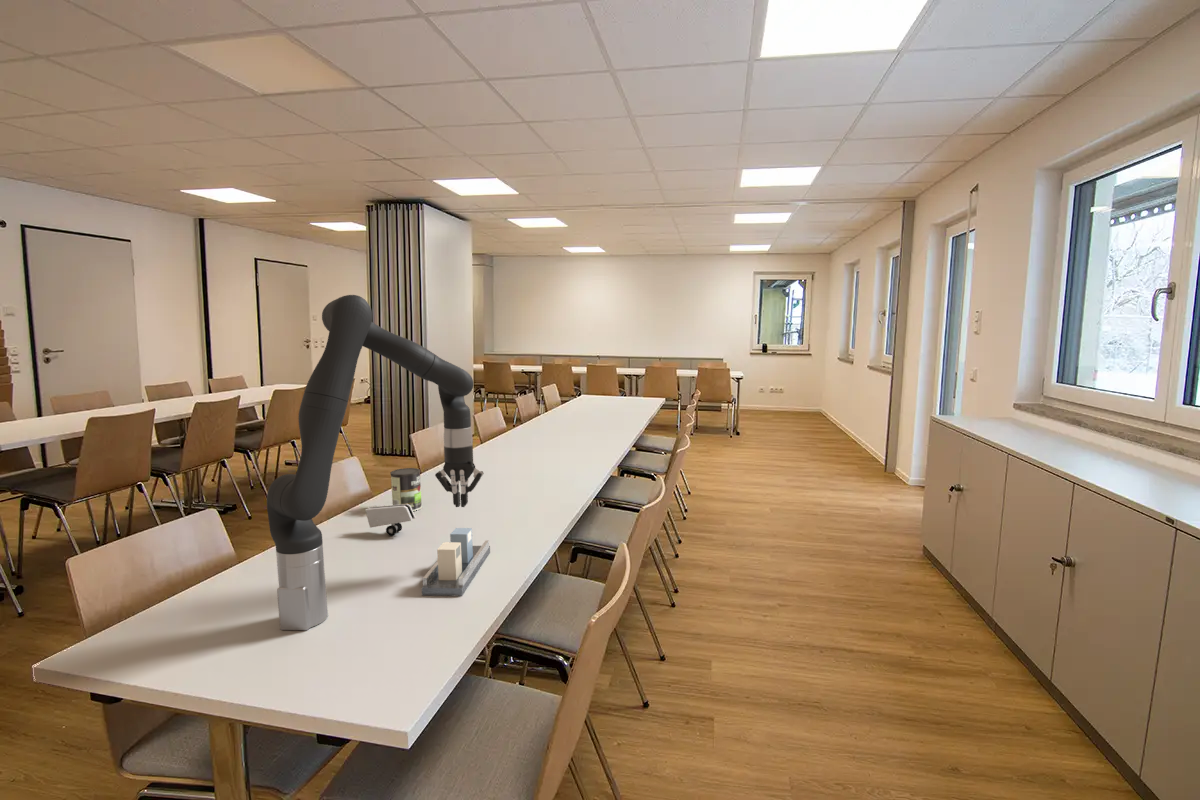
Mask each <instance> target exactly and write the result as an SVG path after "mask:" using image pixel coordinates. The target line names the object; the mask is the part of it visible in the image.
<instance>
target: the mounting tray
mask: <svg viewBox="0 0 1200 800" xmlns="http://www.w3.org/2000/svg"><path fill="white" fill-rule="evenodd" d="M490 554H491V545H490V540H487V539H486V540H484V542H483V543H482V545H473V556H472V558H471V559H470V561H469V562H468V563H462V573H461V574H460V576H459V577H458V579H457V580H439V575H438V560H437V561H436V562H435V563H434V564H433V565H432V567H431V568H429V570H428V571H427V572H426V573H425V575H424V576H423V577H422V587H421V596H428V597H430V596H434V597H436V596H437V597H463V596H464V594H465V592H466V591H467V590H468V588H469V586H470V584H471V583H472V581H473V580H474V578H476V575H477V574H478V572H479V570H480V569H481V568H482V566H483V564H484V563H485V561H486V560H487V558H488V557H489V555H490ZM480 567H481V568H480Z"/></svg>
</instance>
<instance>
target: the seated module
mask: <svg viewBox="0 0 1200 800" xmlns="http://www.w3.org/2000/svg"><path fill="white" fill-rule="evenodd" d="M436 550H437V561H438V575H439V580H457V579H458V577H459V576H460V574H461V573H462V558H461V542H451V541H450V542H449V541H447V542H446V541H444V542H442V544H440V546H439V547H438V548H437V549H436Z"/></svg>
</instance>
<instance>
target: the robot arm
mask: <svg viewBox="0 0 1200 800" xmlns="http://www.w3.org/2000/svg"><path fill="white" fill-rule="evenodd" d="M321 320H322V323H323V326H324V328H325V329H326V330H327V331H328V336H327V341H326V345H325V347H324V350H323V353H322V355H321V357H320V359H319V360H318V362H317V364H316V366H315V368H314V369H313V371H312V373H311V375H310V377H309V379H308V381H307V383H306V386H305V388H304V391H303V395H302V400H301V403H300V406H299V410H298V428H299V429H298V430H299V435H300V436H299V437H300V443H301V452H300V453H301V454H300V458H299V462H298V466H297V468H296V469H297V470H296V472H295V474H292V473H290V474H289V473H287V474H283V475H281V476H278V477H276V478H275V479H274V480H273V481H272V483H271V484H270V485H269V487H268V490H267V494H266V509H267V519H268V524H269V531H270V536H271V539H272V541H273V542H274V544H275V553H276V566H277V567H276V569H277V579H278V580H277V582H278V587H277V590H276V594H277V603H278V604H277V606H278V607H277V608H278V617H279V618H278V619H279V629H280V631H281V630H283V631H308V630H309V629H311V628H312V627H315V626H317V625H320V624H321V623H323V622H325V620H327V618H328V616H329V613H328V611H329V610H328V599H327V586H326V585H327V584H326V573H325V571H326V570H325V561H324V559H325V558H324V546H323V534H322V530H320V529H319V527H318V526H317V525H316V524H315V522H314V520H313V519H314V518H315V517H316V516H318V515H319V513H321V512H322V510H323V508H324V506H325V504H326V502H327V497H328V493H329V486H330V479H331V472H332V468H333V467H332V466H333V461H334V457H335V452H336V447H337V445H338V442H339V441H338V440H339V436H340V431H341V427H342V424H343V421H344V418H345V416H346V415H345V414H346V410H347V407H348V403H349V399H350V394H351V390H352V386H353V383H354V382H353V381H354V379H355V378H354V377H355V373H356V369H357V364H358V360H359V356H360V354H361V351H362V349H363V347H364V348H366V349H368V350H369V351H370V350H371V351H372V352H375V353H377V354H378V355H381V356H382V357H384V358H386V359H388V360H390V361H391V362H393V363H395V364H397V365H398V366H400V367H402V368H403V369H405V370H407V371H408V372H410V373H412V374H414V375H415V376H417V377H419V378H421V379H422V380H425V381H428V382H431V383H434V384H436V386H437V389H438V394H439V398H440V403H441V407H442V411H443V427H444V428H443V453H444V454H443V455H444V465H443V467H442V469H441V470H439V471H437V472H436V473H435V475H434V476H435V478H436V479H437V480H438V482H439V483H440V485H441V486H442V487H443V489H444V491H446V493H448V492H450V493H452V501H453V505H454V506H455V507H456V508H460V507H461V508H465V507H466V505H468V503H469V500H468V499H469V496H468V495H469V494H468V493H471V492H472V491H473V490H474V489H475V488H476V486H477V485H478V483H479V482H480V480H481V479H482V478H483V475H484V471H482V470H479V469H477V468H476V464H475V463H474V446H473V445H474V444H473V443H474V439H473V432H472V419H471V415H472V414H471V410H470V407H469V406H468V404H466V402H465V396H468V395H470V393H471V392H472V391H473V389H474V379H473V377H472V376H471V374H470V373H469V372H468V371H466V370H465V369H463V368H461V367H460V366H457V365H455V364H453V363H451V362H449V361H447V360H445V359H443V358H442V357H439V356H438V355H437V354H435V353H433V352H432V351H431V350H429V349H427V348H426V347H424V346H422V345H420V344H418V343H417V342H415V341H412V340H411V339H408V338H405V337H403V336H401V335H398V334H396V333H392V332H391V331H388V330H386V329H384V328H383V327H381V326H379V325H378V324H376V323H374V322H373V311H372V308H371V306H370V303H369V302H368V301H367V300H366V298H365V299H364V298H363V297H362V296H360V295H357V294H347V295H342V296H340V297H338V298H336V299H333V300H332V301H330V302H328V303H327V304H326V305H325V306H324V308H323V309H322V313H321ZM472 474H473V480H472V482H471V483H470V485H469V479H470V477H471V476H472ZM447 477H448V478H449V479H450V481H449V479H448V478H447ZM460 491H461V492H460Z"/></svg>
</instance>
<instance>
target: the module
mask: <svg viewBox="0 0 1200 800" xmlns="http://www.w3.org/2000/svg"><path fill="white" fill-rule="evenodd" d="M472 528H473V527H455V528H454V529H453V531H452V532H451V533H450V534H449V537H450V542H461V558H462V563H468V562H469V561H470V559H471V558H472V556H473V546H474V545H473V529H472Z"/></svg>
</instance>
